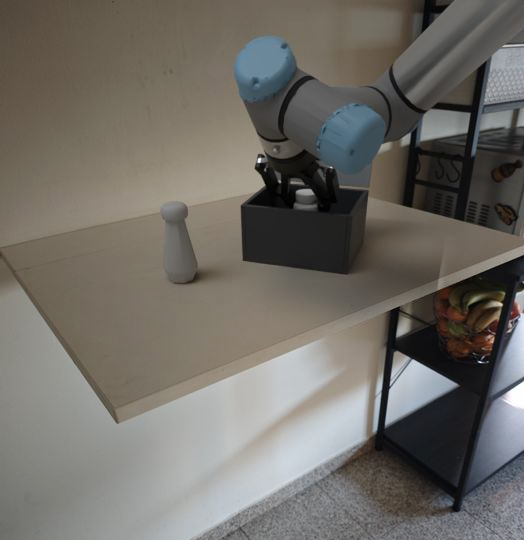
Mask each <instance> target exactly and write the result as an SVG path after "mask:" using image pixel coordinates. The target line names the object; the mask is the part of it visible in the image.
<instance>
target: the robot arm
mask: <svg viewBox="0 0 524 540" xmlns="http://www.w3.org/2000/svg"><path fill="white" fill-rule="evenodd" d="M523 30H524V0H453V1H451V3H450V4H449V5H448V6H447V7H446V8H445V9H444V10H443V11H442V12H441V13H440V14H439V15H438V16H437V17H436V18H435V20H433V22H431V24H429V26H428V27H427V28H426V29H425V30H423V32H422V33H421V34H419V36H417V38H416V39H415V40H414V41H413V42H412V43H411V45H409V46H408V48H406V49H405V51H403V52H402V54H400V56H398V58H396V59H395V61H393V63H392V64H391V65H390V66H389V67H388V68H387V69H386V70H385V71H384V72H383V73H382V74H381V75H380V76H379V77H378V79H376V80H375V81H374V82H373V83H372V84H369V85H363V86H357V87H358V88H354V89H349V90H343V91H339V90H336V89H334V88H332V87H333V86H330V85H328V84H327V83H325V82H322V81H321V80H319V79H318V78H316V77H314V76H313V75H312V74H310V73H308V72H306V71H304V70H302V69H300V68H299V66H298V64H297V59H296V56H295V55H294V52H293V51H292V48H291V46H290V44H289V43H287V41H286V40H285V39H283V38H281V37H279V36H276V35H264V36H260V37H257V38H255V39H253V40H251V41H249V42H248V43H246V44H245V45H244V47H243V48H242V49H241V50H240V52H239V53H238V54H237V56H236V58H235V61H234V65H233V75H234V79H235V82H236V85H237V88H238V95H239V97H240V99H241V100H242V102H243V105H244V107H245V109H246V111H247V114H248V116H249V118H250V121H251V124H252V125H253V128H254V129H255V132H256V135H257V137H258V139H259V142H260V144H261V147H262V149H263V152H264V154H263V153H258V154H257V157H256V159H255V165H254V170H255V172H257V173H258V174H259V175H260V177H261V179H262V181H263V183H264V186H265V185H266V188H267V190H268V192H269V194H270V196H271V197H272V198H277V196H278V197H281V200H283V202H284V204H285V206H286V207H290V209H293V206H294V203H295V202H296V191H295V189H293V188H291V189H290V186H291V184H292V183H291V182H292V181H291V178H298V179H301V180H302V181H303V182H302V183H303V185H308V186H309V187H310V189H311V190H312V192H313V193H314V194H315V196H316V197H317V198H318V203H317V207H318V210H319V212H328V211H330V208H331V204H332V203H334V204H335V203H337V200H338V196H339V191H340V188H341V187H340V185H339V182H338V177H337V172H336V169H337V170H339V171H341V172H343V173H345V174H348V175H354V174H357V173H359V172H361V171H362V170H363V169H364V168H365V166H366V165H369V164H370V163H371V162H372V163H373V161H374V159H375V158H376V156H377V155H378V153H379V151H380V149H381V146H382V145H384V144H388V143H393V142H396V141H399V140H401V139H403V138H404V137H406V136H407V135H409V134H411V133H413V132H414V131H415V130H416V129H417V128H418V126H419V125H420V124H421V122H422V119H423V117H424V116H425V115H426V114H427V112H429V111H430V110H431V109H432V108H433V107H434V106H435V105H436V104H438V103H439V102H440V101H441V100H442V99H443V98H445V97H446V96H447V95H448V94H449V93H451V92H452V91H453V90H454V89H455V88H456V87H458V86H459V85H460V84H461V83H462V82H463V81H464V80H466V79H467V78H468V77H469V76H470V75H472V74H473V72H475V71H477V69H478V68H480V67H481V66H482V65H483V64H484V63H485V62H486V61H488V60H489V59H490V58H491V57H492V56H493V55H495V54H496V53H497V52H499V50H501V49H502V48H503V47H504V46H505V45H506V44H508V43H509V42H510V41H511V40H512V39H514V37H516V36H517V35H518V34H519V33H520V32H522V31H523ZM372 160H373V161H372ZM318 169H321V170H322V172H323V173H324V174H323V177H326V178H325V182H326V184H325V182H324V181H323V179H322V178H321V176H320V175H319V173H318V171H317V170H318ZM274 170H275V171H277V172H278V173H280V174H281V180H278V179H277V176H276V174H275V171H274ZM279 183H281V186H280V184H279Z"/></svg>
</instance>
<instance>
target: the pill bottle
mask: <svg viewBox="0 0 524 540" xmlns="http://www.w3.org/2000/svg"><path fill="white" fill-rule="evenodd" d="M317 200H318V198H317V197H316V196H315V194H314V193H313V192H312V190H311V189H301V190H298V191H296V202H295V203H294V206H293V209H297V210H308V211H318V212H319V210H318V207H317V203H318V202H317Z"/></svg>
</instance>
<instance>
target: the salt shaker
mask: <svg viewBox="0 0 524 540" xmlns="http://www.w3.org/2000/svg"><path fill="white" fill-rule="evenodd" d="M188 209H189V208H188V206H187V204H186V203H185V202H182V201H176V200H175V201H174V200H173V201H172V200H171V201H167V202H165V203H163V204H162V205H161V206H160V210H159V211H160V212H159V213H160V216H161V218H162V220H164V237H163V238H164V241H163V260H162V261H163V262H162V267H163V269H164V272H165V273H166V276H167V277H168V279H169V280H170V281H171V282H172V283H173V284H174V283H175V284H186V283H189V282H191V281H193V280H194V277H195V274H196V273H197V272H196V271H197V270H198V266H199V263H198V261H197V257H196V254H195V250H194V246H193V244H192V240H191V238H190V233H189V231H188V227H187V223H186V219H187V218H188V217H189V210H188Z"/></svg>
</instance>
